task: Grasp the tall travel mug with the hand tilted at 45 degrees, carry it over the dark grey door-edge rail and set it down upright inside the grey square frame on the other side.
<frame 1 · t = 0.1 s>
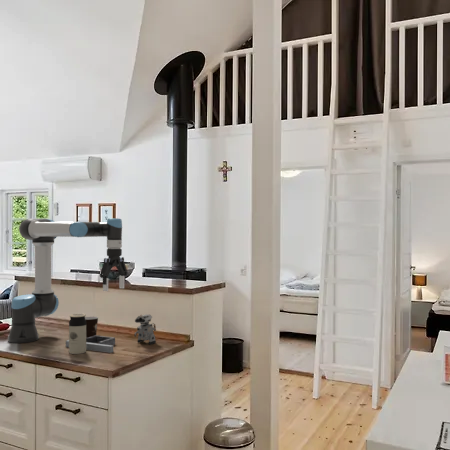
hand: (113, 289, 256), 28 cm above the counter, tool pointing down, fingers open, 13 cm apart
coffee mug: (92, 336, 276), on the counter
figurine: (144, 344, 257), on the counter
travel mug: (77, 352, 239), on the counter
door-edge rail: (89, 349, 245), on the counter
grey square frame: (97, 345, 252), on the counter
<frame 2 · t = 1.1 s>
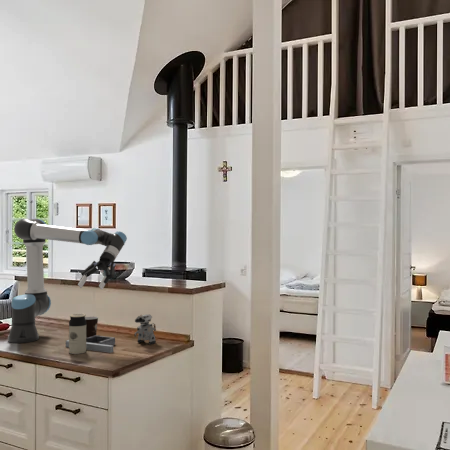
hand: (89, 287, 253), 30 cm above the counter, tool tilted 45°, fingers open, 13 cm apart
nothing on the counter moved.
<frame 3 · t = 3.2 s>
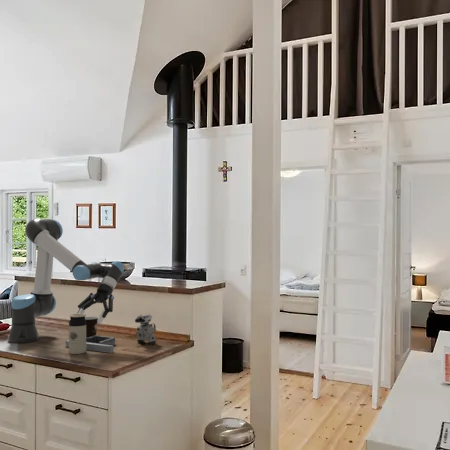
hand: (87, 321, 244), 14 cm above the counter, tool tilted 45°, fingers open, 13 cm apart
nothing on the counter moved.
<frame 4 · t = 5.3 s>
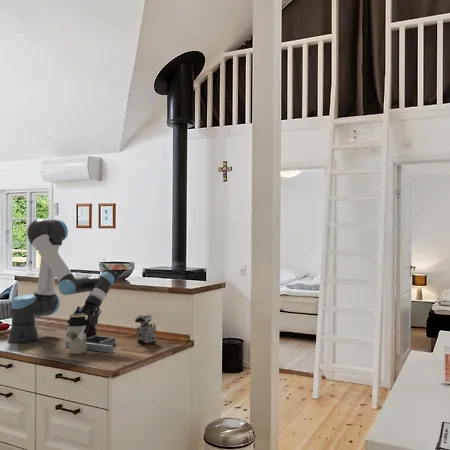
hand: (72, 337, 236), 8 cm above the counter, tool tilted 45°, fingers closed on travel mug, 8 cm apart
travel mug: (77, 352, 239), on the counter, touching gripper
everything else where it was.
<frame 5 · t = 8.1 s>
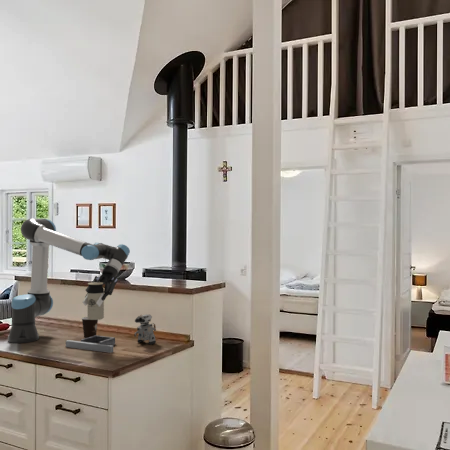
hand: (91, 304, 248), 22 cm above the counter, tool tilted 45°, fingers closed on travel mug, 8 cm apart
travel mug: (95, 319, 251), point 14 cm above the counter, touching gripper
everything else where it was.
when the fingers open (9 cm above the counter, at t = 11.1 s): travel mug drops 1 cm, resting in grey square frame.
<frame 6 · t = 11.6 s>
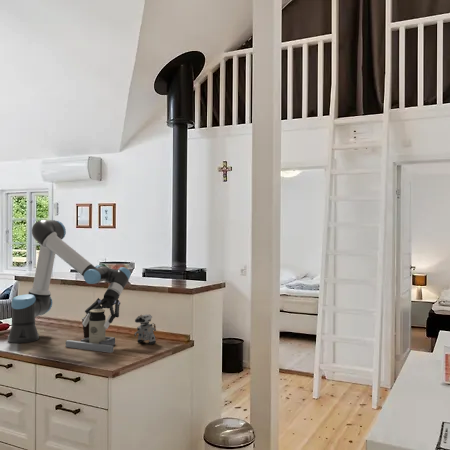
hand: (94, 326, 250), 10 cm above the counter, tool tilted 45°, fingers open, 13 cm apart
travel mug: (97, 346, 253), resting in grey square frame
everything else where it was.
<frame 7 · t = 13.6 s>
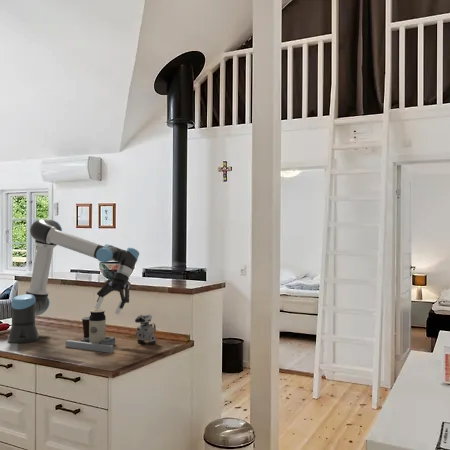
hand: (106, 311, 263), 16 cm above the counter, tool tilted 30°, fingers open, 13 cm apart
nothing on the counter moved.
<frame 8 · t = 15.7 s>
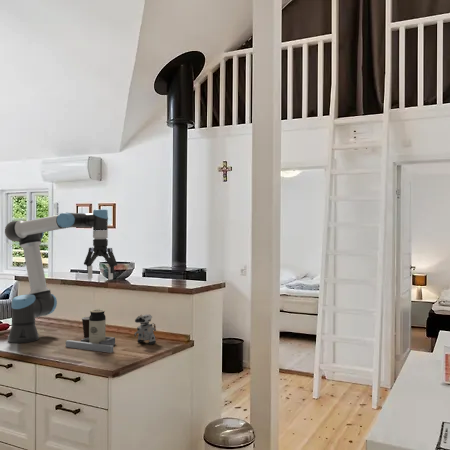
hand: (100, 278, 264), 33 cm above the counter, tool pointing down, fingers open, 13 cm apart
nothing on the counter moved.
at the end: travel mug inside the target area on the grey square frame (0.1 cm from its centre), point 0.0 cm above the grey square frame's base; travel mug tilted 0°; the gripper is holding nothing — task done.
